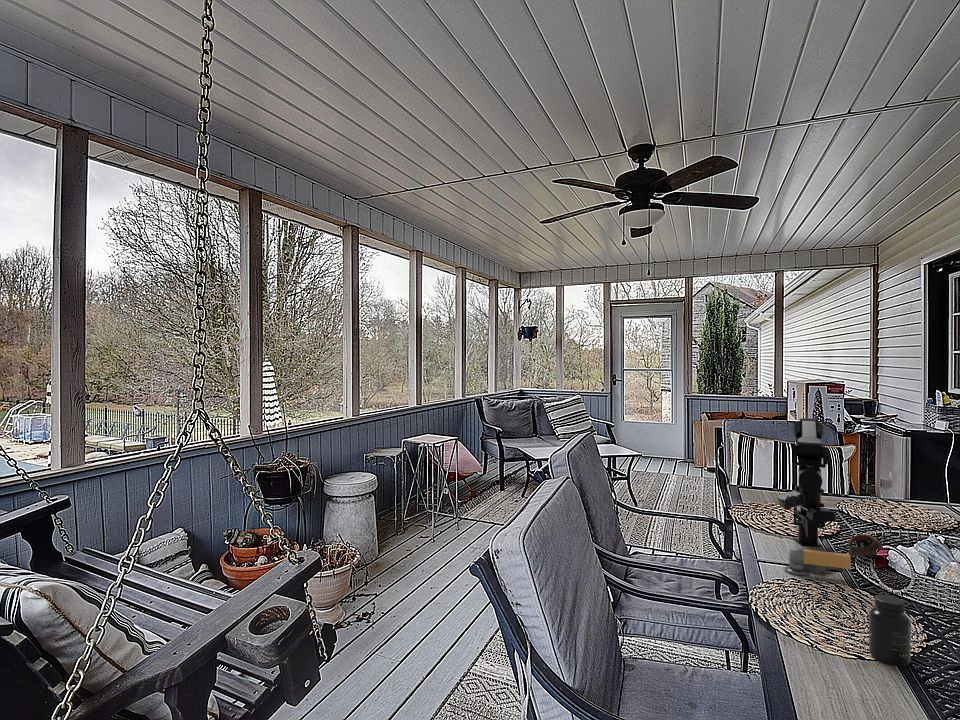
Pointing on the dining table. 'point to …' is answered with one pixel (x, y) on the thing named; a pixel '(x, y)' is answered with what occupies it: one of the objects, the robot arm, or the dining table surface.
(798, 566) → the gray flanged disc
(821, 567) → the tile
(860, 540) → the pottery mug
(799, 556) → the bar
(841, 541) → the dining table surface
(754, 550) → the dining table surface
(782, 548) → the dining table surface
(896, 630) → the supplement bottle
